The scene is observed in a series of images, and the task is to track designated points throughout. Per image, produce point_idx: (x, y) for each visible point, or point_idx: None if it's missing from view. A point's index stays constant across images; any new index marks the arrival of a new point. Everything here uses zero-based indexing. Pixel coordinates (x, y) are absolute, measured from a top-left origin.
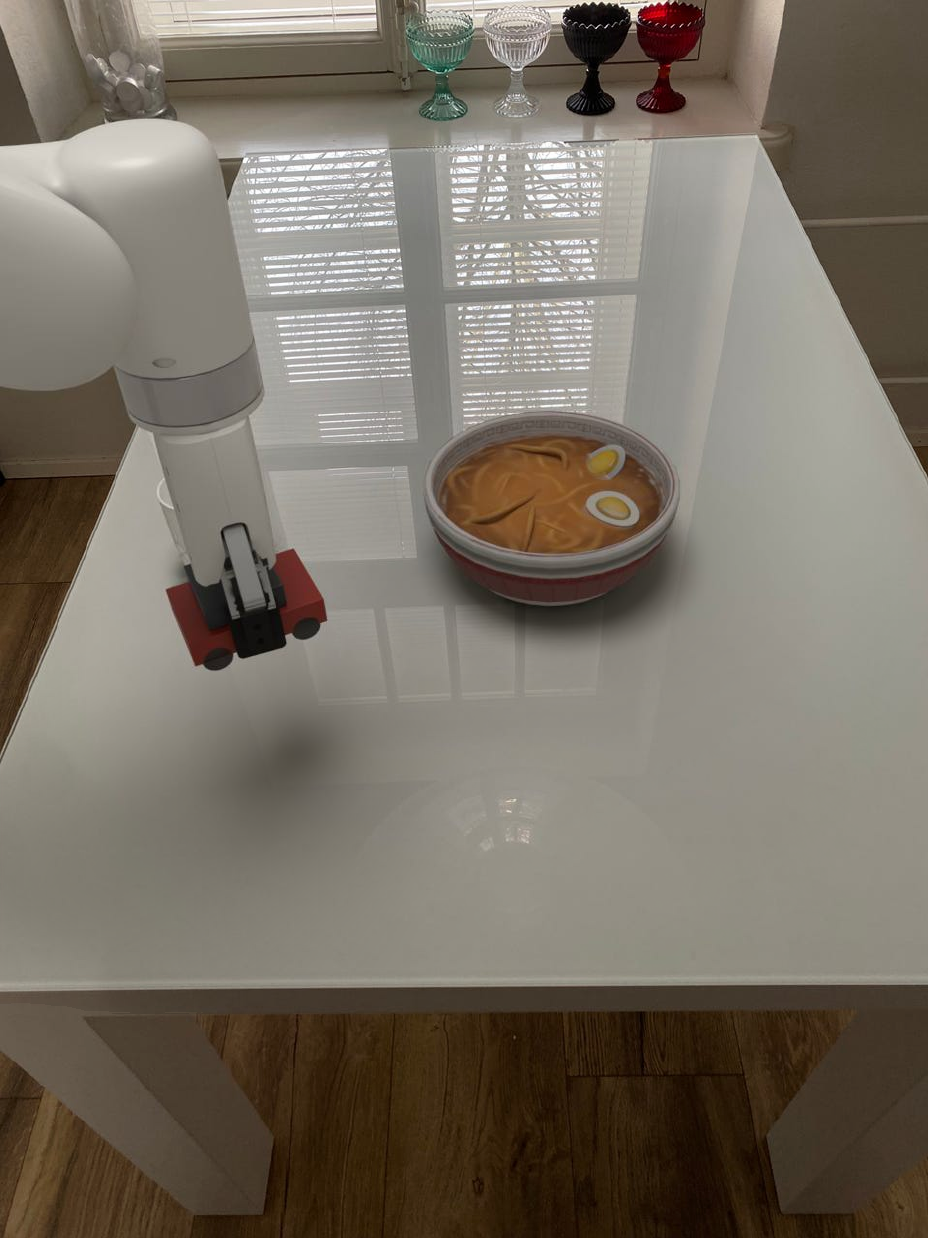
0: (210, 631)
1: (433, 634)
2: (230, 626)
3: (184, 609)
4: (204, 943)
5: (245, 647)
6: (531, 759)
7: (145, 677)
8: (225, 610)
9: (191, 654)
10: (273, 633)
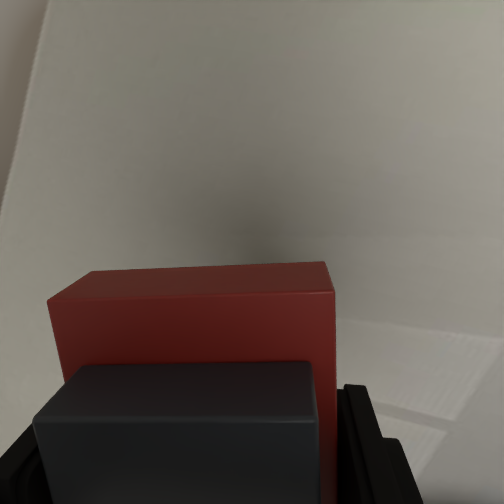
0: (81, 366)
1: None
2: (18, 439)
3: (205, 323)
4: (64, 118)
5: None
6: None
7: (501, 119)
8: (3, 479)
9: (68, 286)
10: None
